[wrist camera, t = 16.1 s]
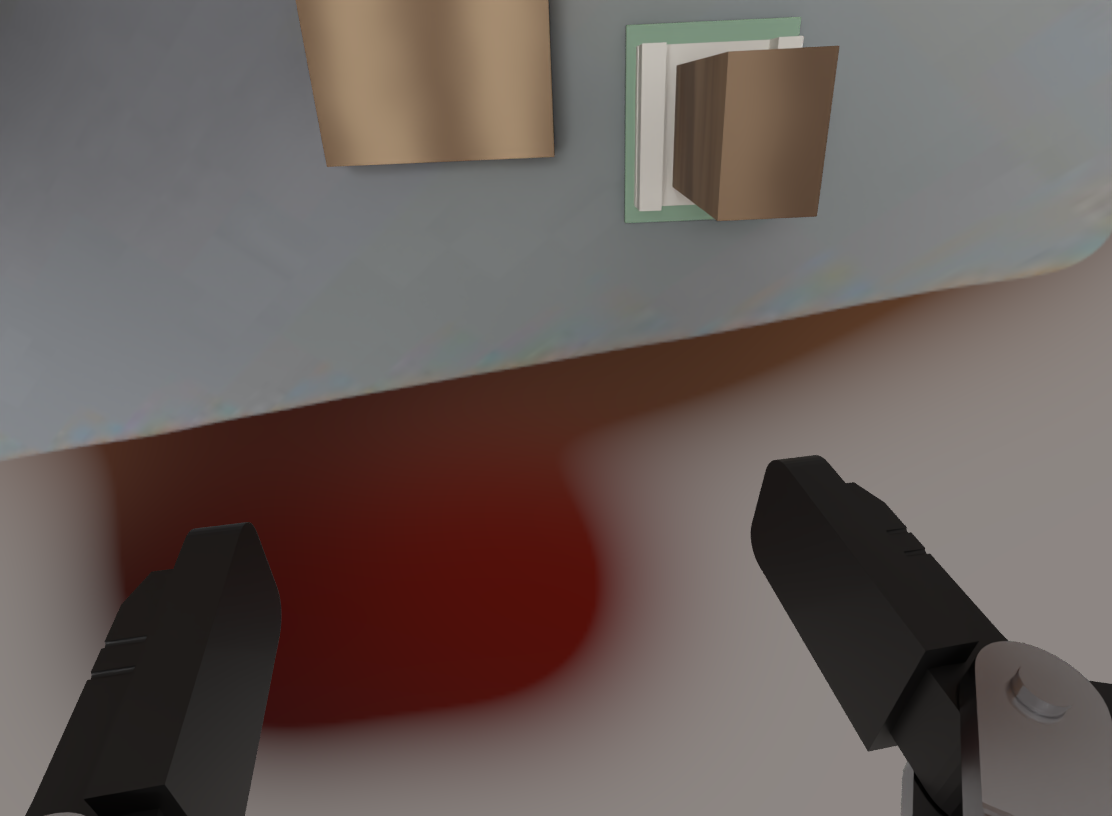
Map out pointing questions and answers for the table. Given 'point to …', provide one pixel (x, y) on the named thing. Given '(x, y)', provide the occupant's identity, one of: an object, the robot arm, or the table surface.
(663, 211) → the mat
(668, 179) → the rack
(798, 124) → the tall wooden pillar
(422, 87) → the flat wooden block
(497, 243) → the table surface
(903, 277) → the table surface
